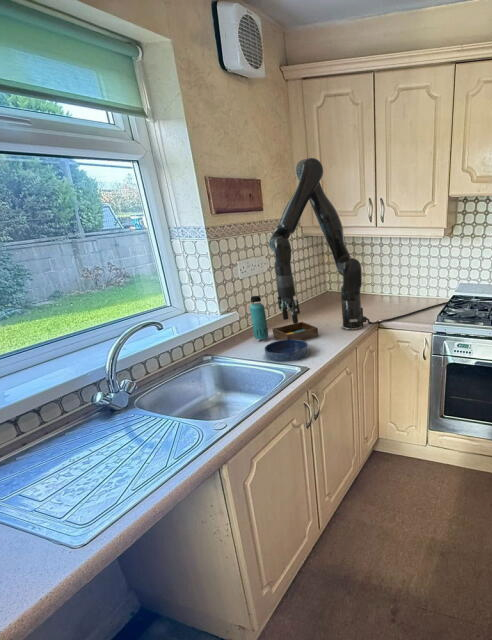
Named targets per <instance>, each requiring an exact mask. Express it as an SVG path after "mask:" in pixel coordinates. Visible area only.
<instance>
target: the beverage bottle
mask: <svg viewBox="0 0 492 640" xmlns="http://www.w3.org/2000/svg"><path fill="white" fill-rule="evenodd" d="M261 301H262V298H261V296H260V295H252V296H251V297H250V302H251V304H250V306H249V312H250V318H251V325H252V331H253V338H254V339H255V340H264V339H267V338H269V329H268V321H267V313H266V311H265V305H264V304H263V303H261Z"/></svg>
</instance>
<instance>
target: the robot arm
mask: <svg viewBox="0 0 492 640" xmlns="http://www.w3.org/2000/svg"><path fill="white" fill-rule="evenodd" d="M295 175H296V177H297V180H298V184H297V187H296V189H295V191H294V193H293V195H291V198H290V199H289V200H288V202H287V204H286V206H285V207H284V209H283V211H282V214H281V217H280V219H279V222H278V224H277V226H276V227H275V229H274V230H273V232H272V233H271V235H270V238H269V242H268V245H269V248H270V251H272V252H273V253H274V256H275V261H274V262H273V265H274V274H275V284H276V291H277V304H278V309H279V310H280V311H281V313H282V319H283V320H284V321H286V320H289V312H290V314H291V318H292V324H295V323H299V318H298V315H299V314H301V310H300V304H299V300H298V299H295V298H294V297H295V296H296V293H297V292H296V288H295V287H296V286H295V279H294V275H293V268H292V244H291V242H290V240H289V239H290V237H291V235H292V234H294V233H295V232H296V230H297V227H298V225H299V223H300V221H301V218H302V216H303V213H304V211H305V208H306V206H307V204H308V202H309V203H310V205H311V208H312V211H313V213H314V216H315V217H316V220H317V223H318V225H319V228H320V230H321V232H322V234H323V236H324V239H325V241H326V244H327V245H328V247H329V249H330V251H331V254H332V258H333V261H334V264H335V267H336V270H337V272H338V274H340V276H342V285H341V286H340V299H341V300H340V301H341V316H342V317H341V319H342V329H343V330H346V331H358V330H360V329H362V328H364V323H368V324H369V325H373V324H374V325H375V324H376V325H377V324H381V323H385V322H390V321H393V320H398V319H401V318H405V317H407V316H411V315H414V314H418V313H421V312H423V311H426V310H429V309H432V308H433V309H434V308H436V307H440V306H444V305H448V304H449V303H448V302H449V301H446V302H441V303H438V304H434V305H430V306H428V307H427V306H426V307H424V308H421V309H418V310H414V311H412V312H408V313H405V314H402V315H398V316H394V317H390V318H386V319H382V320H377V321H373V322H372V321H370V319H369V318H368V317H367V316H364V308H363V307H362V299H361V288H362V283H363V279H362V275H363V273H362V269H363V268H362V265H361V262H360V261H359V260H358V259H356V258H354V257H352V256H351V254H350V252H349V250H348V248H347V246H346V242H345V234H344V232H345V231H344V227H343V224H342V221H341V219H340V216H339V213H338V212H337V209H336V208H335V206H334V205H333V203H332V202H331V200H330V199H329V198H328V196H327V195H326V194H325V192H324V190H323V186H322V184H321V180H322V178H323V176H324V167H323V164H322V162H321V161H320V160H319V159H317V158H315V157H308V158H304V159H301V160H299V161H298V162H297V163H296V167H295ZM288 311H289V312H288Z"/></svg>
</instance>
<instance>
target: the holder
mask: <svg viewBox="0 0 492 640" xmlns="http://www.w3.org/2000/svg"><path fill="white" fill-rule="evenodd" d="M302 329H304V331H300V332H296V333H292V334H286V333H290V332H294V331H298V330H302ZM272 336H273V339H274V340H277V341H280V340H290V339H294V340H302V341H307V340H310V339H315V338H319V328H318V326H317V327H316V326H314V325H311V324H309V323H306V322H303V321H298V323H295V324H294V323H291V324H286V325H283V326H277V327H273V328H272Z"/></svg>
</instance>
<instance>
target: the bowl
mask: <svg viewBox="0 0 492 640" xmlns="http://www.w3.org/2000/svg"><path fill="white" fill-rule="evenodd" d="M309 351H310V350H309V343H308V342H306V340H303V341H302V340H294V339H290V340H276V341H273V342H270V343H267V344H266V346H264V354H265V359H267V360H268V361H271V362H276V363H288V362H294V361H300V360H302V359H304V358H305V357H307V356H308V355H309V353H310V352H309Z"/></svg>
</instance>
